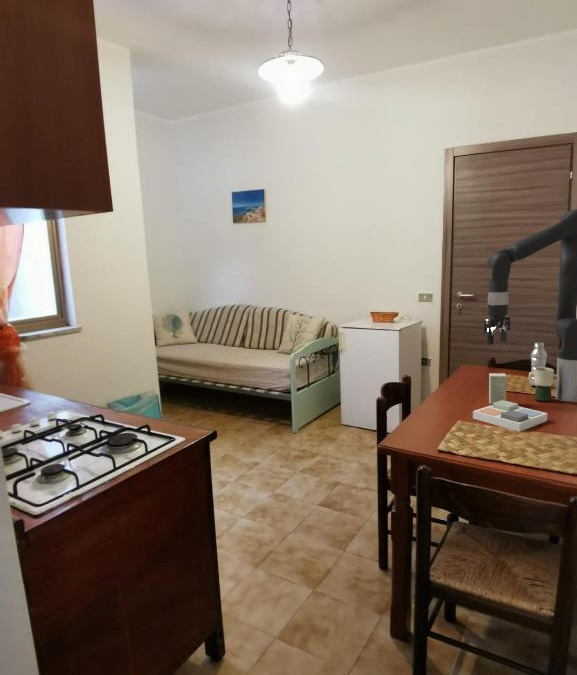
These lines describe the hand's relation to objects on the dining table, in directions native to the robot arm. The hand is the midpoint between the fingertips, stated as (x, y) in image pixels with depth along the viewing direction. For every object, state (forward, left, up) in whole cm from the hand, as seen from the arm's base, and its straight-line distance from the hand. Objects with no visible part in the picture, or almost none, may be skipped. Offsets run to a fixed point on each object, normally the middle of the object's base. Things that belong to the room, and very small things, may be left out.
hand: (496, 343), depth 194 cm
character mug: (-14, +12, -24) cm, 31 cm away
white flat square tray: (+17, +17, -24) cm, 34 cm away
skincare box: (+3, +3, -24) cm, 25 cm away
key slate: (+13, +21, -23) cm, 34 cm away
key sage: (+13, +13, -22) cm, 28 cm away
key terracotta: (+21, +13, -23) cm, 34 cm away
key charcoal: (+21, +22, -22) cm, 37 cm away
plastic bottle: (-31, 0, -24) cm, 39 cm away
